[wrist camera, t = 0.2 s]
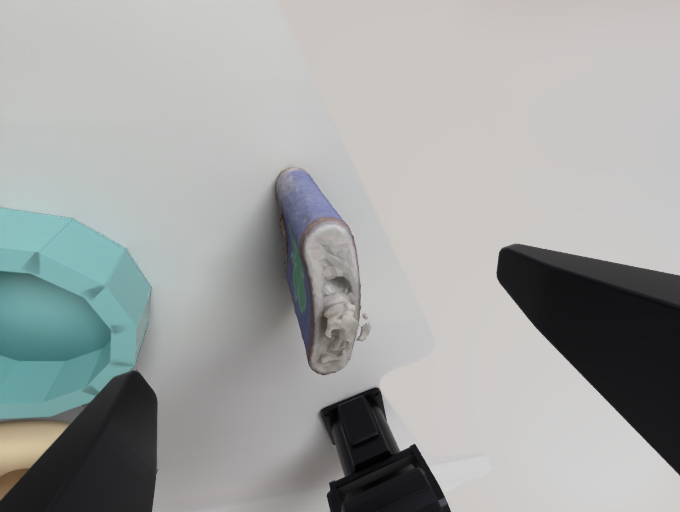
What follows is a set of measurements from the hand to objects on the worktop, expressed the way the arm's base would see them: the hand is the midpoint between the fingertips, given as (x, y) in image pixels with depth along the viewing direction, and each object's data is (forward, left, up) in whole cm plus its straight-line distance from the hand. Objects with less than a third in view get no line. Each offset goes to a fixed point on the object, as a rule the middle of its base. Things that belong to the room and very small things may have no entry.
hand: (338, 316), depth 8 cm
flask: (-5, 0, -15) cm, 16 cm away
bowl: (-4, +15, -15) cm, 22 cm away
